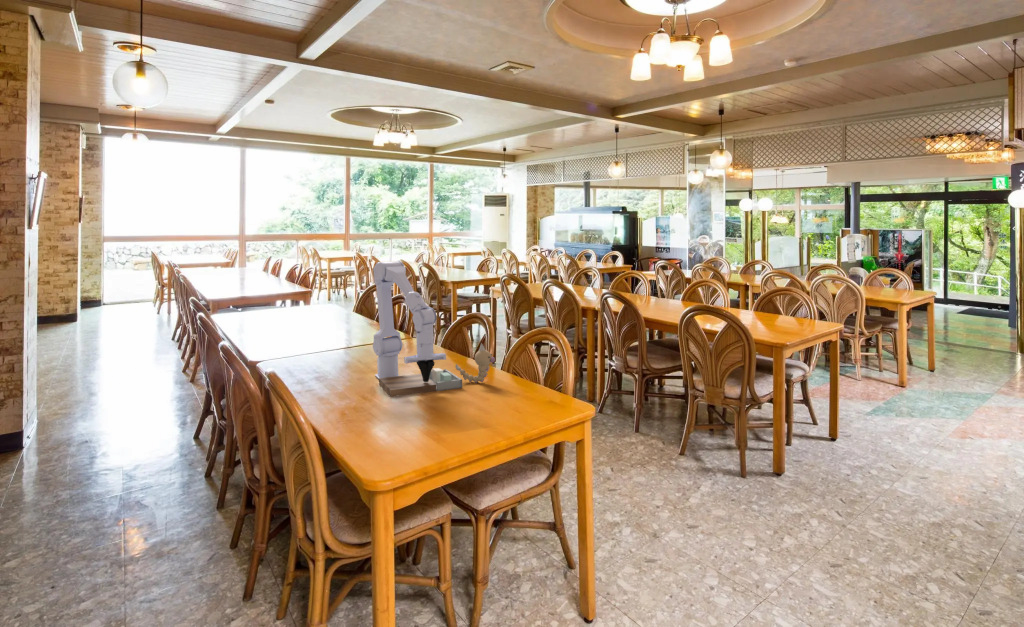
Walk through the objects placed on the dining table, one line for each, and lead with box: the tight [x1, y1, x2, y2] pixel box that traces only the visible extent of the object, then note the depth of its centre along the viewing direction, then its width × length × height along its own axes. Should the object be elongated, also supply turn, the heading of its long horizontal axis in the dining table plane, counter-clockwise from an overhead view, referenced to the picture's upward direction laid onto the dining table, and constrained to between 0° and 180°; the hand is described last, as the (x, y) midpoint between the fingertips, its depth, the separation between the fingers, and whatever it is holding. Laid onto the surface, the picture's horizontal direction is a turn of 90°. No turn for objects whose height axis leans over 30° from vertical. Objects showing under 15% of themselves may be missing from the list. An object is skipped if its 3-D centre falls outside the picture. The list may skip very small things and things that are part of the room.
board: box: [378, 373, 437, 398], centre depth 207 cm, size 17×16×2 cm
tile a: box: [431, 367, 444, 383], centre depth 214 cm, size 4×4×3 cm
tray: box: [429, 368, 463, 392], centre depth 212 cm, size 17×9×3 cm, turn 26°
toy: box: [455, 342, 496, 384], centre depth 213 cm, size 6×15×15 cm, turn 78°
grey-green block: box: [440, 372, 451, 382], centre depth 207 cm, size 4×4×3 cm
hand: (425, 381), depth 204 cm, fingers closed
